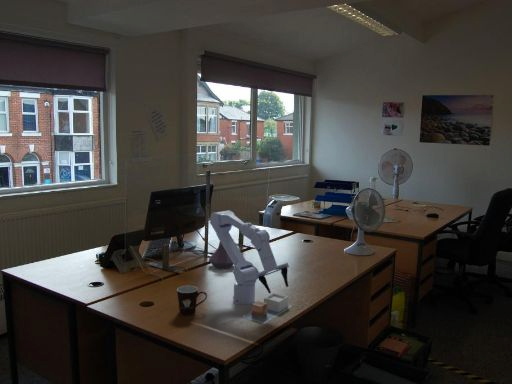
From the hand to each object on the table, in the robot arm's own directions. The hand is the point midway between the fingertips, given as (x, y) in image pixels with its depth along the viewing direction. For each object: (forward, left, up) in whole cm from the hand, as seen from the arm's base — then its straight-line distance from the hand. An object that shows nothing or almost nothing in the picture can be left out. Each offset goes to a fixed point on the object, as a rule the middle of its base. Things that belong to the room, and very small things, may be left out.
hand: (278, 290), depth 189 cm
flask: (-21, +68, -11) cm, 72 cm away
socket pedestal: (0, +7, -10) cm, 12 cm away
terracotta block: (-8, -1, -10) cm, 13 cm away
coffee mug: (-36, +5, -11) cm, 38 cm away
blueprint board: (-4, +3, -11) cm, 12 cm away
